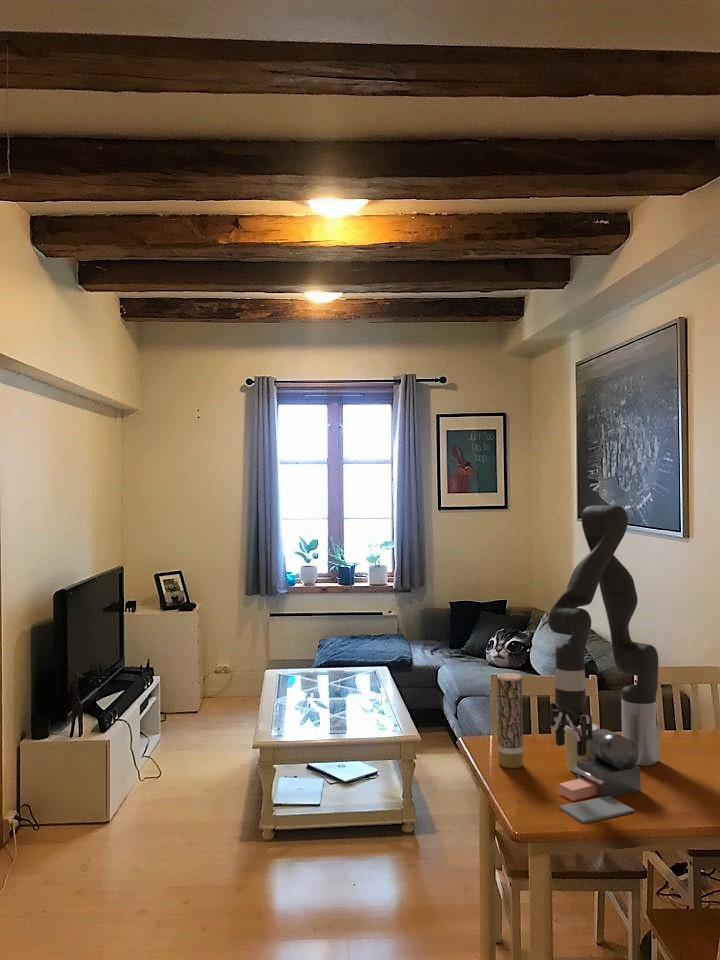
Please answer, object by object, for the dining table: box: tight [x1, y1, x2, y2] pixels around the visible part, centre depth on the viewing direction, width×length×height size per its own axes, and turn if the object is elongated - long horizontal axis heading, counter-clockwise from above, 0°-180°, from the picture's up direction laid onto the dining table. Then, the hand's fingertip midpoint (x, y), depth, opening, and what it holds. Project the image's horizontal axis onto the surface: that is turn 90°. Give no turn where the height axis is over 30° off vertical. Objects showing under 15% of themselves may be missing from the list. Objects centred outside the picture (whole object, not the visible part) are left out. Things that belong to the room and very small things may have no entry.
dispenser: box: [574, 728, 641, 798], centre depth 201 cm, size 13×10×14 cm
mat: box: [558, 796, 635, 824], centre depth 187 cm, size 15×9×1 cm, turn 112°
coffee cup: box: [563, 722, 600, 774], centre depth 214 cm, size 9×9×12 cm
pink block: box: [558, 777, 598, 802], centre depth 198 cm, size 14×5×3 cm, turn 118°
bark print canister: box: [496, 672, 524, 769], centre depth 218 cm, size 7×7×25 cm
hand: (570, 750), depth 196 cm, fingers open, 8 cm apart
